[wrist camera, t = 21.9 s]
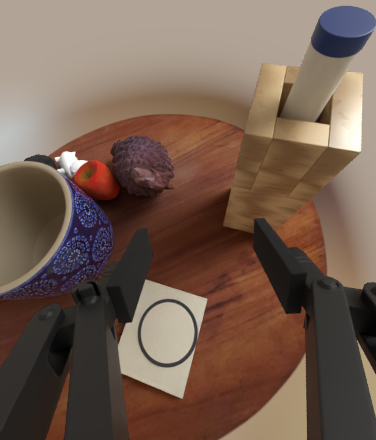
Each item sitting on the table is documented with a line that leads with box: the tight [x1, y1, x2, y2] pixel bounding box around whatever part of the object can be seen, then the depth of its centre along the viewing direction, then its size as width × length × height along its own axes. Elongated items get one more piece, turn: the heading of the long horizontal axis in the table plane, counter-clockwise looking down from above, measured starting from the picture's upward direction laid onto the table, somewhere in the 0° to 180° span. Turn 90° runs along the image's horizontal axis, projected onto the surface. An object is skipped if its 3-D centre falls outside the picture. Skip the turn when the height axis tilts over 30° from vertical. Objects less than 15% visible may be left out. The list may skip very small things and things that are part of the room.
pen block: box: [223, 64, 363, 233], centre depth 26 cm, size 8×8×22 cm
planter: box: [0, 161, 114, 300], centre depth 29 cm, size 17×17×15 cm
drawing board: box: [118, 279, 207, 399], centre depth 30 cm, size 11×13×1 cm
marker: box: [279, 6, 376, 123], centre depth 17 cm, size 3×3×13 cm
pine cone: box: [110, 136, 175, 197], centre depth 36 cm, size 18×10×10 cm
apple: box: [73, 160, 120, 200], centre depth 36 cm, size 6×6×8 cm
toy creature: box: [55, 151, 88, 180], centre depth 41 cm, size 5×8×6 cm
